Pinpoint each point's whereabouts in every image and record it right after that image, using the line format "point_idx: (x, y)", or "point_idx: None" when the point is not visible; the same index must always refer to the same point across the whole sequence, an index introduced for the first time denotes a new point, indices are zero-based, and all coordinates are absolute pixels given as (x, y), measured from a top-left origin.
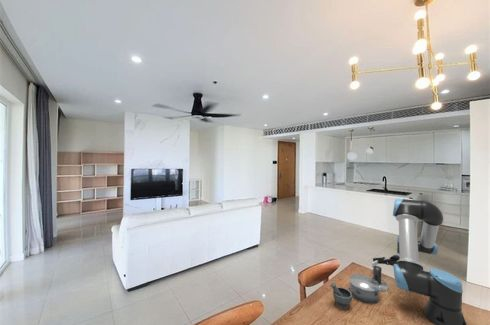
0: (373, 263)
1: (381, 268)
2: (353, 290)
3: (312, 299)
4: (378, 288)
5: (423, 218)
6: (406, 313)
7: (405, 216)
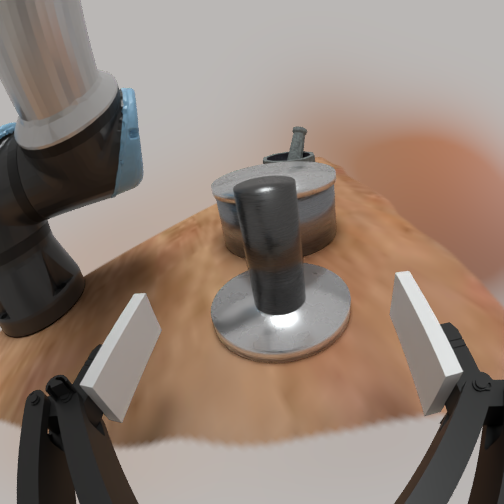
0: (397, 282)
1: (235, 191)
2: None
3: (342, 173)
4: (212, 183)
5: None
6: (138, 258)
7: None
